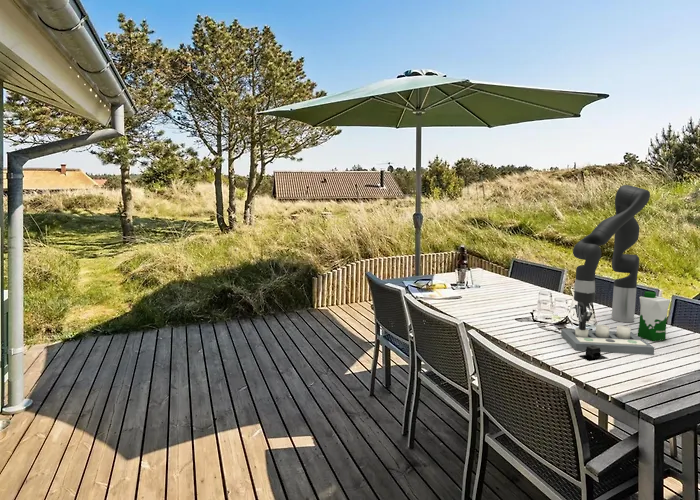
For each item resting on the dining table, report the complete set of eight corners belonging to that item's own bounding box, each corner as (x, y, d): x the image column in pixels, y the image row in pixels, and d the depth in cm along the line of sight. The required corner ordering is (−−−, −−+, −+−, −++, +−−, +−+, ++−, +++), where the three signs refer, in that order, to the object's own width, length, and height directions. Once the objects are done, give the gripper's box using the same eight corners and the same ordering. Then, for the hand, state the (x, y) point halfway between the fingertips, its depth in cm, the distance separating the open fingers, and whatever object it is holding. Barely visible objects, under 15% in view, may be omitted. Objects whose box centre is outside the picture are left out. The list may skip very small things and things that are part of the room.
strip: (575, 338, 164) (575, 336, 163) (639, 341, 159) (640, 339, 159) (580, 342, 159) (580, 341, 159) (646, 345, 154) (646, 344, 154)
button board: (561, 335, 175) (561, 328, 175) (630, 338, 170) (631, 331, 170) (575, 350, 158) (576, 343, 158) (653, 354, 152) (654, 347, 152)
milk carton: (648, 333, 176) (652, 290, 173) (669, 340, 167) (673, 295, 164) (633, 335, 173) (637, 291, 171) (654, 342, 165) (658, 296, 162)
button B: (593, 335, 169) (594, 324, 168) (605, 336, 168) (606, 324, 167) (598, 339, 164) (598, 328, 164) (610, 340, 163) (611, 328, 163)
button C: (573, 338, 171) (573, 327, 170) (585, 338, 170) (585, 327, 169) (577, 342, 166) (577, 331, 165) (589, 342, 165) (590, 331, 164)
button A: (613, 336, 167) (614, 325, 167) (626, 337, 166) (627, 325, 166) (619, 340, 163) (620, 328, 162) (632, 341, 162) (633, 329, 161)
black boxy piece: (597, 353, 157) (598, 342, 156) (614, 360, 150) (615, 348, 149) (572, 356, 153) (572, 345, 153) (587, 364, 146) (588, 352, 146)
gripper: (569, 286, 172) (567, 324, 174) (580, 293, 159) (578, 334, 161) (587, 286, 171) (585, 325, 173) (601, 294, 158) (598, 335, 160)
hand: (582, 329), depth 167 cm, fingers closed
